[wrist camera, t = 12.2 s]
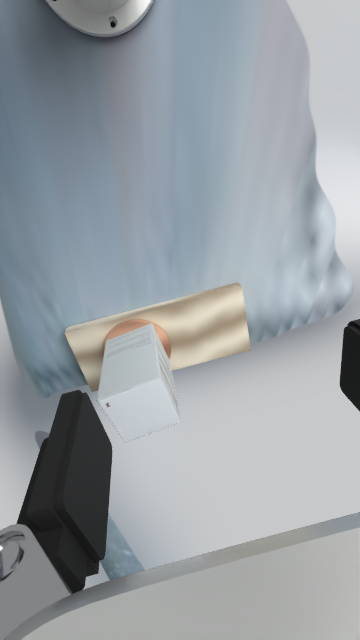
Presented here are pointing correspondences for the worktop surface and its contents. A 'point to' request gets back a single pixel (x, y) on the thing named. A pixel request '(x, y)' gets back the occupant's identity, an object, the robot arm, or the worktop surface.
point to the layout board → (170, 330)
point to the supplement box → (137, 384)
